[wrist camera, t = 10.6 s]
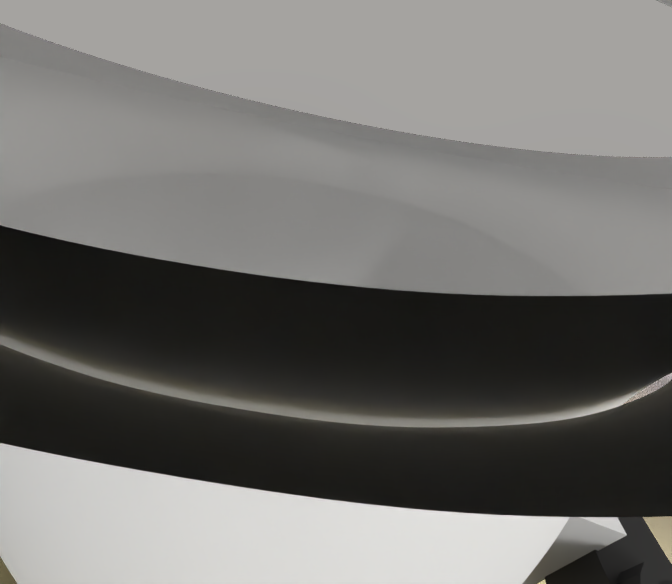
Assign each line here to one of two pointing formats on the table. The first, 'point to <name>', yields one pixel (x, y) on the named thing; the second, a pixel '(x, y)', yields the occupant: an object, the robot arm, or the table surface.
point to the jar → (312, 339)
